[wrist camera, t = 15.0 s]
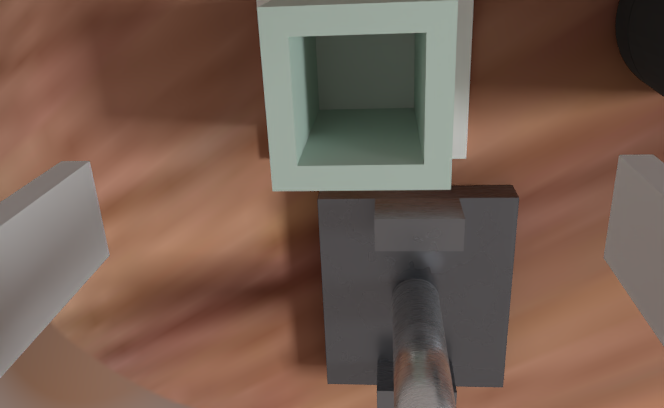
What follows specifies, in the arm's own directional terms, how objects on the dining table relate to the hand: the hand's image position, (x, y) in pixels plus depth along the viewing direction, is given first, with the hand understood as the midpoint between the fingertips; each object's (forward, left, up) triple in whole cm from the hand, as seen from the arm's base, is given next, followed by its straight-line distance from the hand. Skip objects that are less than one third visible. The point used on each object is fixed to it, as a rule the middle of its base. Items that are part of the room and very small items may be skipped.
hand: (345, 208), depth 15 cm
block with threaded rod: (+15, +3, -22) cm, 27 cm away
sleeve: (0, 0, -21) cm, 21 cm away
